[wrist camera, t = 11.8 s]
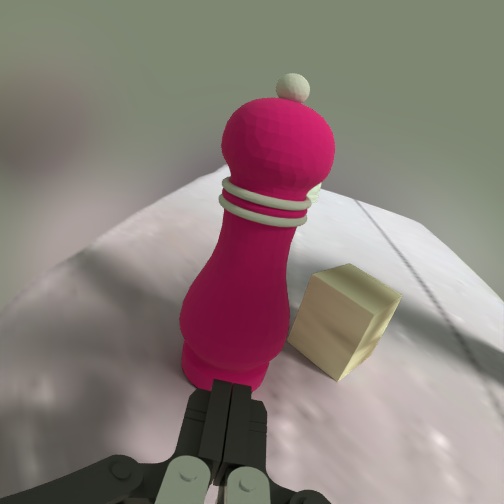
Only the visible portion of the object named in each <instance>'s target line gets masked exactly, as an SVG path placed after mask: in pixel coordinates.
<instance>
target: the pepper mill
mask: <svg viewBox="0 0 504 504" xmlns="http://www.w3.org/2000/svg"><path fill="white" fill-rule="evenodd" d="M276 92H277V95H278V97H279V98H262V99H256V100H253V101H250V102H248V103H246V104H244V105H242V106H241V107H240V108H239V109H238V110H236V111H235V112H234V113H233V114H232V116H231V117H230V119H229V120H228V122H227V124H226V127H225V130H224V133H223V137H222V144H221V148H222V153H223V156H224V159H225V160H226V162H227V164H228V166H229V169H230V172H231V176H230V177H226V178H225V179H223V181H222V186H223V190H222V194H221V195H220V196H219V203H220V205H221V206H222V207H223V208H224V215H223V223H222V228H221V232H220V235H219V239H218V243H217V245H216V247H215V249H214V251H213V254H212V256H211V257H210V259H209V260H208V262H207V263H206V265H205V266H204V268H203V269H202V271H201V272H200V273H199V275H198V276H197V278H196V279H195V280H194V282H193V283H192V285H191V287H190V288H189V290H188V293H187V295H186V297H185V299H184V301H183V305H182V309H181V313H180V319H179V320H180V330H181V332H182V335H183V337H184V339H185V341H184V345H183V352H182V369H183V371H184V373H185V375H186V377H187V378H188V379H189V381H190V382H191V383H192V384H194V385H195V386H196V387H197V388H200V389H204V390H208V391H211V387H212V383H213V379H214V378H215V379H219V380H224V381H228V382H232V384H233V383H238V384H243V385H248V386H252V392H253V391H254V390H256V389H257V388H258V387H259V386H260V384H261V383H262V381H263V379H264V376H265V373H266V371H267V368H268V365H269V361H270V360H272V359H273V358H275V357H276V356H277V355H278V354H279V352H280V351H281V350H282V348H283V346H284V344H285V341H286V337H287V334H288V330H289V319H290V308H289V301H288V293H287V284H286V266H287V260H288V255H289V250H290V245H291V242H292V239H293V236H294V234H295V231H296V228H297V226H301V225H303V224H305V222H306V221H307V215H306V213H307V209H308V208H309V207H310V206H311V204H312V202H311V199H310V198H309V197H308V196H307V194H308V192H309V191H310V190H311V189H312V188H314V187H315V186H317V185H318V184H320V183H321V182H322V181H323V180H324V179H325V178H326V177H327V176H328V174H329V172H330V170H331V167H332V164H333V160H334V153H335V142H334V137H333V133H332V131H331V129H330V127H329V125H328V124H327V123H326V121H325V120H324V118H323V117H321V116H320V115H319V114H318V113H316V112H315V111H314V110H313V109H311V108H309V107H307V106H305V105H303V104H301V103H302V102H304V101H305V100H306V99H307V98H308V96H309V93H310V87H309V84H308V82H307V80H306V79H305V78H304V77H303V76H301V75H298V74H294V73H293V74H292V73H291V74H287V75H284V76H283V77H281V78H280V79H279V80H278V82H277V86H276Z"/></svg>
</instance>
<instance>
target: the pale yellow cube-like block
mask: <svg viewBox="0 0 504 504" xmlns="http://www.w3.org/2000/svg"><path fill="white" fill-rule="evenodd" d="M402 296H403V295H401V294H400V293H398V292H396V291H395V290H393V289H391V288H390V287H388V286H387V285H385V284H383V283H382V282H380V281H378V280H377V279H375V278H373V277H372V276H370V275H368V274H367V273H365V272H363V271H362V270H360V269H358V268H357V267H355V266H353V265H352V264H350V263H349V264H346V265H342V266H339V267H335V268H331V269H328V270H324V271H321V272H317V273H314V274H312V276H311V278H310V281H309V284H308V287H307V289H306V292H305V295H304V298H303V300H302V303H301V306H300V308H299V311H298V314H297V316H296V319H295V321H294V324H293V327H292V329H291V332H290V334H289V337H288V339H287V342H289V343H290V344H291V345H292V346H294V347H295V348H296V349H297V350H298V351H300V352H301V353H302V354H303V355H304V356H306V357H307V358H308V359H309V360H311V361H312V362H313V363H314V364H315V365H317V366H318V367H319V368H320V369H322V370H323V371H324V372H325V373H327V374H328V375H329V376H330V377H332V378H333V379H334V380H335V381H337V382H338V381H339V380H341V379H342V378H343V377H344V376H346V375H347V374H348V373H350V372H351V371H352V370H353V369H355V368H356V367H357V366H358V365H360V364H361V363H362V362H363V361H364V360H366V359H367V358H368V357H369V356H370V355H371V354H372V352H373V350H374V348H375V347H376V345H377V343H378V341H379V340H380V338H381V336H382V334H383V332H384V331H385V329H386V327H387V325H388V323H389V321H390V319H391V317H392V316H393V314H394V312H395V310H396V308H397V306H398V304H399V302H400V300H401V298H402Z"/></svg>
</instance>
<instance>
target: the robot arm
mask: <svg viewBox="0 0 504 504" xmlns="http://www.w3.org/2000/svg"><path fill="white" fill-rule="evenodd" d="M251 393H252V386H248V385H243V384H238V383H233V384H232V382H228V381H224V380H219V379H215V378H214V379H213V383H212V387H211V391H208V390H204V389H200V388H197V389H196V390H195V391H194V392H193V393H192V394H191V395H190V397H189V400H188V404H187V408H186V412H185V415H184V419H183V423H182V427H181V431H180V434H179V438H178V442H177V446H176V450H175V452H174V454H173V455H172V456H171V457H170V458H169V459H168V460H166V461H164V462H161V463H154V464H150V463H138V462H137V461H135V460H134V459H132V458H131V457H128V456H125V455H113V456H110V457H108V458H105V459H103V460H101V461H99V462H97V463H94V464H92V465H90V466H88V467H85V468H83V469H81V470H78V471H76V472H74V473H71V474H69V475H66V476H64V477H61V478H59V479H56V480H54V481H51V482H48V483H46V484H43V485H40V486H37V487H35V488H32V489H29V490H26V491H23V492H20V493H17V494H14V495H10V496H7V497H4V498H0V504H204V500H205V496H206V493H207V491H208V488H209V486H210V485H211V484H212V481H213V479H214V481H213V485H215V486H219V491H218V497H217V499H216V502H215V504H331V503H330V502H329V501H328V500H327V499H326V498H325V497H324V496H323V495H322V494H321V493H319V492H317V491H314V490H302V491H299V492H295V491H292V490H289V489H286V488H284V487H281V486H279V485H277V484H276V483H274V482H273V481H272V480H271V479H270V478H269V476H268V474H267V472H266V437H267V435H266V433H267V426H266V425H267V411H266V409H265V406H264V404H263V402H262V401H258V400H252V399H251Z"/></svg>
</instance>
